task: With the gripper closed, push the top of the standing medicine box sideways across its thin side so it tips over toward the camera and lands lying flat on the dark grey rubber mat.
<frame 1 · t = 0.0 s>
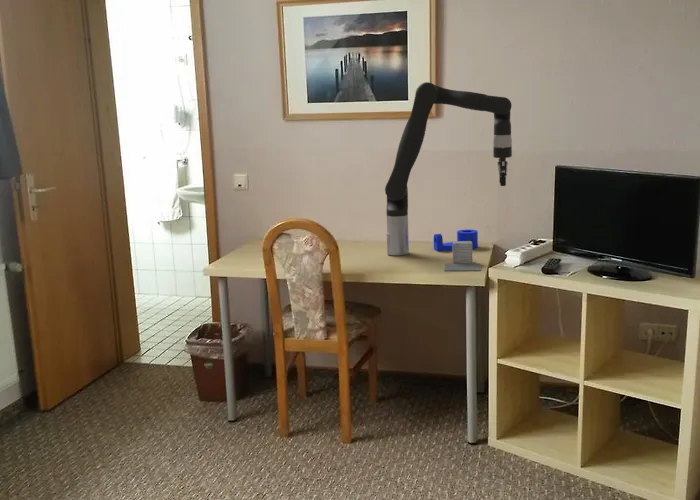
hand: (502, 184, 302), 29 cm above the table, fingers open, 8 cm apart
bracket: (456, 249, 320), on the table
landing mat: (462, 267, 284), on the table
medicine box: (462, 263, 292), on the table
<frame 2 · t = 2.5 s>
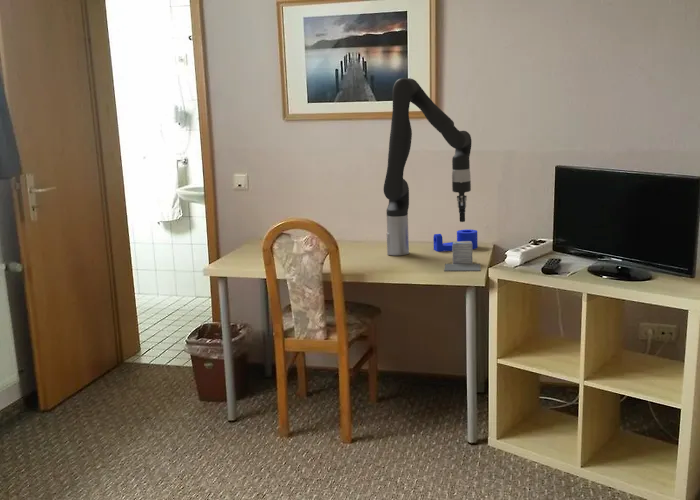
hand: (462, 221, 298), 16 cm above the table, fingers closed
nothing on the table moved.
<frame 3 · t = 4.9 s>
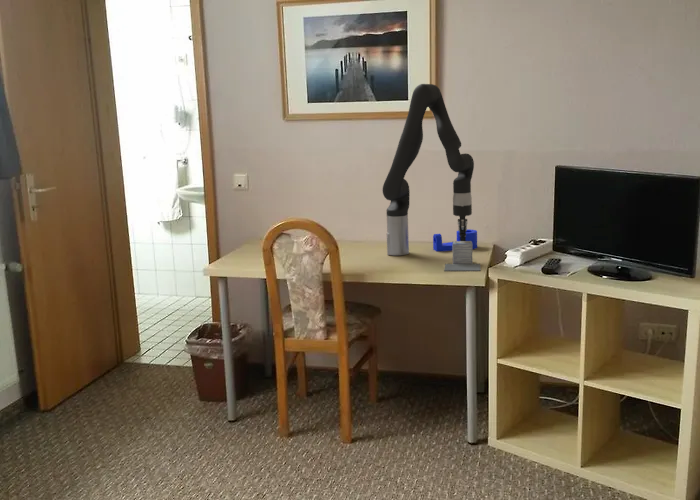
hand: (462, 245, 294), 7 cm above the table, fingers closed
medicine box: (462, 263, 292), on the table, touching gripper
everything else where it was.
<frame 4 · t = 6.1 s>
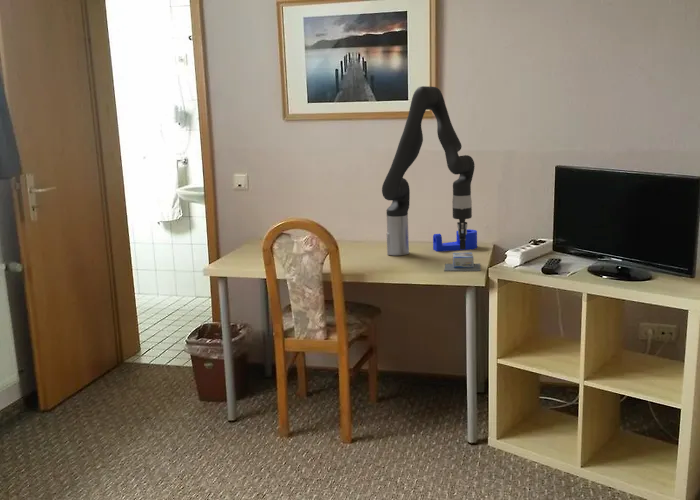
hand: (462, 248, 288), 7 cm above the table, fingers closed
medicine box: (462, 257, 290), point 3 cm above the table, touching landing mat
everything else where it was.
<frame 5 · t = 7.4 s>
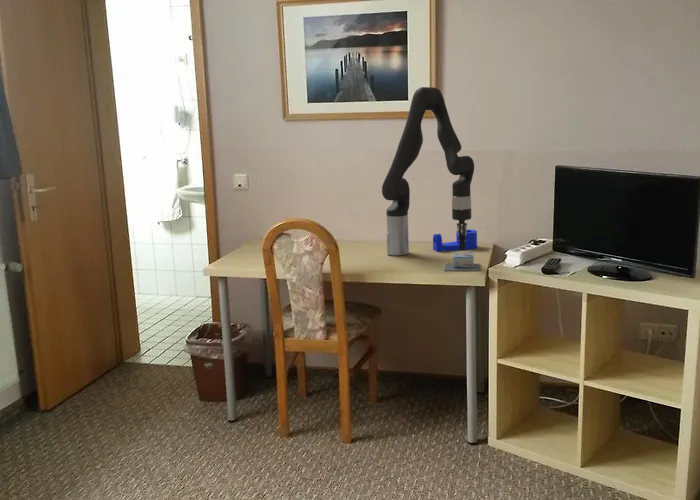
hand: (462, 250, 286), 7 cm above the table, fingers closed
nothing on the table moved.
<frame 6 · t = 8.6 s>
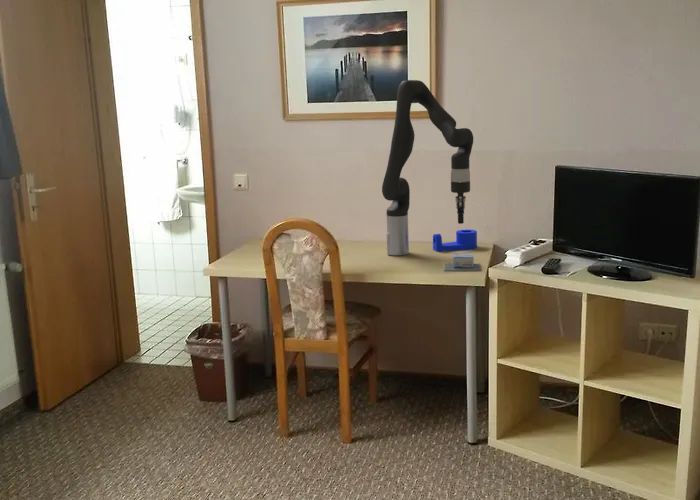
hand: (460, 223, 285), 17 cm above the table, fingers closed
nothing on the table moved.
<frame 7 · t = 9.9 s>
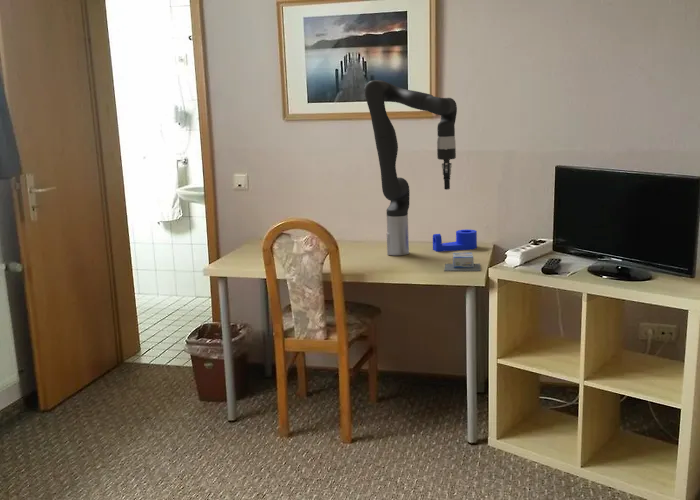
hand: (447, 189, 298), 29 cm above the table, fingers closed
nothing on the table moved.
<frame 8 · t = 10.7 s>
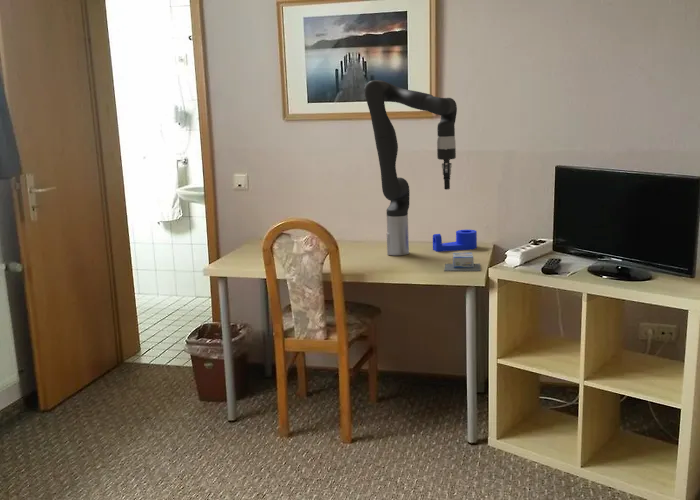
hand: (447, 189, 298), 29 cm above the table, fingers closed
nothing on the table moved.
at the end: medicine box tilted 90°; medicine box inside the target area (1.7 cm from its centre), point 2.6 cm above the table; medicine box touching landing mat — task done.
